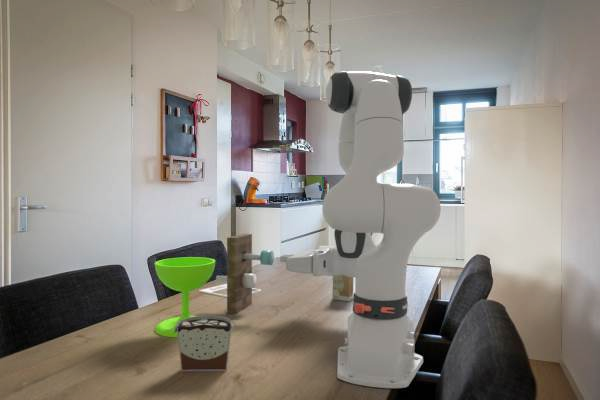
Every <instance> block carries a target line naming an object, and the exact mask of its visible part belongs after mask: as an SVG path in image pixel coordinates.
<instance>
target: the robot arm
mask: <svg viewBox="0 0 600 400" xmlns="http://www.w3.org/2000/svg"><path fill="white" fill-rule="evenodd" d="M325 98H326V102H327V106H328V108H329V109H330V110H331V111H333V112H335V113H338V114H342V117H341V122H340V127H339V134H338V135H339V136H338V160H339V166H340V167H341V169H342V170H343V171H344V173H345V175H344V177H343V178H342V179H340V181H339V182H337V183H336V184H334V186H332V187H330V189H329V190H328V191H327V192H326V194H325V196H324V198H323V201H322V209H321V210H322V215H323V218H324V219H325V221H326V224H327V225H328V226H329V227H330V228H331V229H332V230H334V231H333V232H334V239H335V245H320V246H318V249H309V248H307V249H303V250H302V251H299V252H297V253H294V254H293V253H292V254H283V255H281V256H280V257H279V261H280V263H285V267H286V270H287V271H289V272H293V273H299V274H300V273H301V274H307V275H308V274H309V275H310V274H312V277H322V276H326V277H333V276H339V275H344V276H347V277H354V279H355V280H354V282H355V283H354V285H355V286H354V289H355V290H354V292H353V299H352V313H351V314H350V315H349V316H347V337H344V338H343V343H344V346H341V347H338V349H337V368H336V377H337V379H339V380H342V381H344V382H346V383H350V384H353V385H358V386H365V387H371V388H381V389H403V388H407V387H409V385H410V384H411V382H412V381H413V380H414V378H415V377H416V374H417V373H418V371H419V369H420V368H421V366H422V365H423V363H424V356H422V355H420V354H418V353H416V352H415V350H416V348H415V337H416V335H415V334H416V333H415V323H414V322H413V320H411V319H410V317H409V316H408V307H409V302H408V296H407V295H406V283H407V282H406V280H407V271H408V270H407V269H408V268H407V267H408V262H409V258H410V255H411V253H412V252H413V249H414V247H415V245H416V244H417V243H418V242H419V240H420V239H421V238H422V237H423V236H424V235H425V234H426V233H427V232H429V231H431V230H432V229H433V228H434V227H435V226H436V225H437V223H438V221H439V219H440V216H441V206H442V205H441V202H440V198H439V197H438V195H437V193H436V192H435V191H434V189H432V188H431V187H428V186H424V185H423V186H422V185H419V184H413V183H381V182H378V176H380V175H381V174H383V173H385V172H387V171H389V170H391V169H393V168H394V167H396V166H397V165H398V164H399V163H401V161H402V160H403V158H404V155H405V154H404V153H405V149H404V148H405V146H404V143H405V142H404V123H403V122H404V121H403V115H404V114H405V113H407V111H408V110H410V106H411V104H412V99H413V86H412V84H411V82H410V80H409V79H408V78H407V77H405V76H402V75H398V74H394V75H393V74H392V75H391V74H385V73H381V72H372V71H363V70H362V71H360V70H359V71H347V70H342V71H337V72H334V73H333V74H332V75H331V76H330V77H329V80H328V82H327V85H326V88H325ZM374 233H375V234H376V233H377V234H382V235H383V237H382V240H381V241H380V243H379V244H378V245H376V244H375V242H374V239H373V238H372V235H373V234H374ZM345 345H346V346H345Z"/></svg>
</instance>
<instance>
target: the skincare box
mask: <svg viewBox="0 0 600 400" xmlns="http://www.w3.org/2000/svg"><path fill="white" fill-rule="evenodd" d="M354 279H355V277H347V276H344V275H339V276H332V293H331V294H332V297H331V298H332V300H334V301H343V302H347V303H348V302H351V301H353V295H354V281H355V280H354Z"/></svg>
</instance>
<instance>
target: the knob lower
mask: <svg viewBox="0 0 600 400" xmlns="http://www.w3.org/2000/svg"><path fill="white" fill-rule="evenodd" d="M215 281H216V282H222V283H224V282H225V283H227V275H216V277H215ZM256 284H257V275H256V273H252V274H249V273H245V274H244V275H243V277H242V285H243V287H245V288H255V287H256Z"/></svg>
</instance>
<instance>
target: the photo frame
mask: <svg viewBox="0 0 600 400" xmlns="http://www.w3.org/2000/svg"><path fill="white" fill-rule="evenodd" d="M225 290H226V291H227V283H225V284H220V285H215V286H212V287H211V286H210V287H207V288H203V289H199V290H198V292H199V293H203V294H208V295H212V296H213V295H214V296H218V297H223V298H227V294H222V293H219V292H221V291H225ZM217 292H218V293H217ZM261 292H263V290H262V289H259V288H255V287H254V288H252V295H253V294H257V293H261Z"/></svg>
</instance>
